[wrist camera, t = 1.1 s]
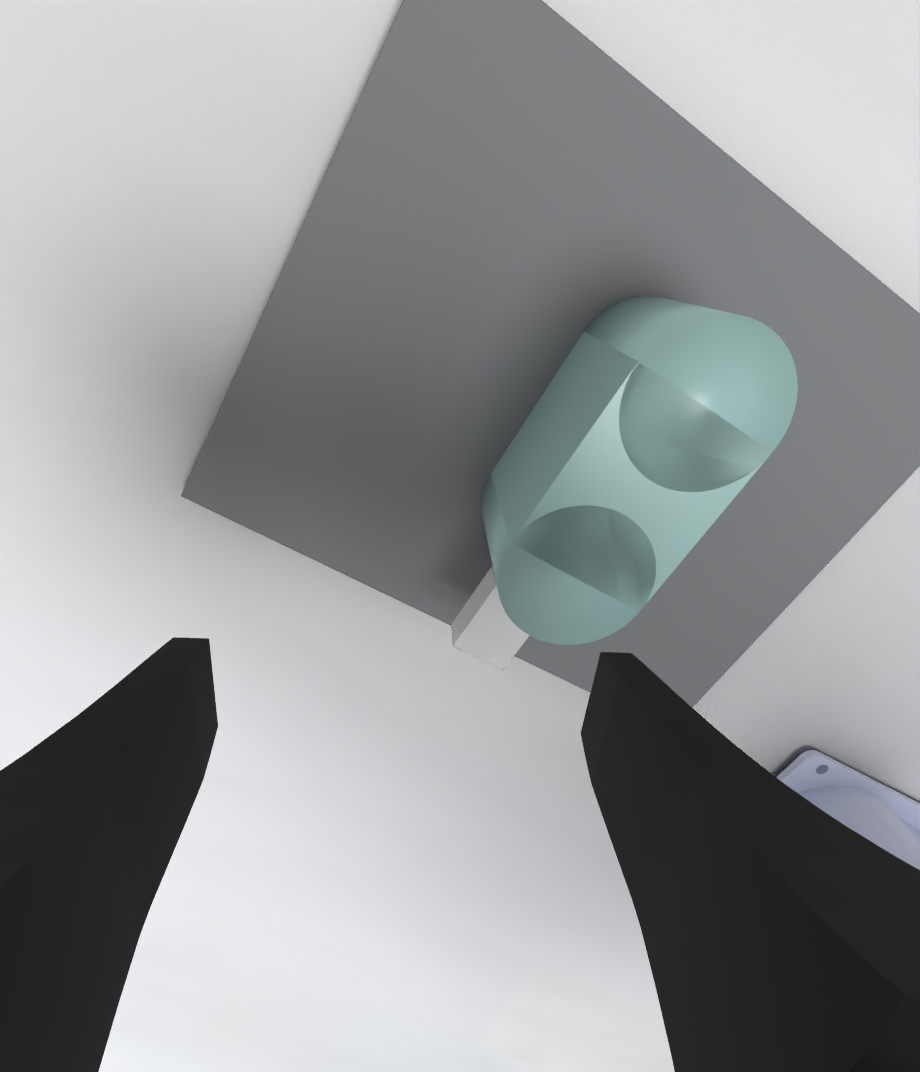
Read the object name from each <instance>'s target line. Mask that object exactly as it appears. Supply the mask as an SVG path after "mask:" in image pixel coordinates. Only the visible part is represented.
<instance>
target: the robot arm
mask: <svg viewBox="0 0 920 1072" xmlns="http://www.w3.org/2000/svg"><path fill="white" fill-rule="evenodd" d="M217 728H218V722H217V713H216V703H215V693H214V683H213V674H212V664H211V654H210V644H209V639H202V638H172V639H171V640H170V641H168V642H167V643H166V644H165V645H163V646H162V647H161V648H160V649H159V650H157V651H156V652H155V653H154V654H153V655H151V656H150V657H149V658H148V659H146V660H145V661H144V662H143V663H142V664H140V665H139V666H138V667H137V668H136V669H134V670H133V671H132V672H131V673H130V674H128V675H127V676H126V677H125V678H124V679H122V680H121V681H120V682H119V683H118V684H116V685H115V686H114V687H113V688H111V689H110V690H109V691H108V692H106V693H105V694H104V695H103V696H101V697H100V698H99V699H98V700H96V701H95V702H94V703H93V704H91V705H90V706H89V707H88V708H86V709H85V710H84V711H83V712H81V713H80V714H79V715H78V716H76V717H75V718H74V719H72V720H71V721H69V722H68V723H67V724H65V725H64V726H63V727H61V728H60V729H59V730H57V731H56V732H55V733H53V734H52V735H50V736H49V737H48V738H46V739H45V740H44V741H42V742H41V743H40V744H38V745H37V746H35V747H34V748H33V749H31V750H30V751H29V752H27V753H26V754H24V755H23V756H22V757H20V758H19V759H17V760H16V761H14V762H13V763H11V764H10V765H8V766H7V767H5V768H4V769H2V770H1V771H0V1072H98V1071H99V1067H100V1064H101V1061H102V1057H103V1054H104V1051H105V1047H106V1044H107V1040H108V1037H109V1034H110V1030H111V1027H112V1024H113V1020H114V1017H115V1013H116V1010H117V1007H118V1003H119V1000H120V997H121V994H122V990H123V987H124V984H125V981H126V978H127V974H128V971H129V968H130V965H131V962H132V959H133V955H134V952H135V949H136V946H137V943H138V939H139V936H140V933H141V931H142V928H143V925H144V923H145V920H146V917H147V915H148V912H149V909H150V907H151V904H152V902H153V899H154V897H155V894H156V892H157V890H158V887H159V885H160V883H161V880H162V878H163V875H164V873H165V871H166V868H167V866H168V863H169V861H170V859H171V856H172V854H173V851H174V849H175V847H176V844H177V842H178V840H179V837H180V835H181V832H182V830H183V828H184V825H185V823H186V820H187V818H188V816H189V813H190V811H191V808H192V806H193V803H194V801H195V798H196V796H197V794H198V791H199V789H200V786H201V784H202V781H203V778H204V775H205V771H206V768H207V764H208V761H209V758H210V754H211V750H212V746H213V743H214V739H215V735H216V731H217ZM581 737H582V742H583V747H584V752H585V757H586V761H587V766H588V770H589V775H590V779H591V783H592V786H593V789H594V792H595V795H596V798H597V801H598V804H599V807H600V810H601V813H602V816H603V818H604V821H605V824H606V827H607V830H608V833H609V835H610V838H611V841H612V844H613V847H614V850H615V852H616V855H617V858H618V861H619V864H620V866H621V869H622V872H623V875H624V878H625V881H626V883H627V886H628V889H629V892H630V895H631V897H632V900H633V904H634V907H635V910H636V913H637V917H638V920H639V923H640V926H641V930H642V934H643V938H644V942H645V946H646V950H647V954H648V958H649V962H650V966H651V970H652V974H653V978H654V982H655V986H656V990H657V994H658V998H659V1003H660V1007H661V1011H662V1016H663V1020H664V1024H665V1029H666V1033H667V1038H668V1042H669V1046H670V1051H671V1055H672V1060H673V1065H674V1069H675V1072H920V803H918V802H916V801H914V800H912V799H910V798H908V797H906V796H905V795H903V794H901V793H899V792H897V791H895V790H893V789H891V788H889V787H887V786H885V785H883V784H881V783H879V782H877V781H875V780H873V779H871V778H869V777H867V776H865V775H863V774H861V773H859V772H857V771H856V770H854V769H852V768H850V767H848V766H846V765H844V764H842V763H840V762H838V761H836V760H834V759H832V758H830V757H828V756H826V755H824V754H822V753H820V752H818V751H815V750H808V751H805V752H803V753H802V754H801V755H799V756H798V757H797V758H796V759H795V760H794V761H793V762H792V763H791V764H790V765H789V766H788V767H787V768H786V769H784V770H783V771H782V772H781V773H780V774H779V775H778V776H777V777H775V776H773V775H772V774H771V773H769V772H768V771H767V770H766V769H764V768H763V767H762V766H760V765H759V764H758V763H757V762H755V761H754V760H753V759H752V758H751V757H749V756H748V755H747V754H746V753H744V752H743V751H742V750H741V749H739V748H738V747H737V746H736V745H734V744H733V743H732V742H731V741H730V740H728V739H727V738H726V737H725V736H724V735H722V734H721V733H720V732H719V731H718V730H717V729H715V728H714V727H713V726H712V725H711V724H710V723H709V722H707V721H706V720H705V719H704V718H703V717H702V716H701V715H700V714H698V713H697V712H696V711H695V710H694V709H693V708H692V707H691V706H690V705H688V704H687V703H686V702H685V701H684V700H683V699H682V698H681V697H680V696H679V695H677V694H676V693H675V692H674V691H673V690H672V689H671V688H670V687H669V686H668V685H667V684H666V683H664V682H663V681H662V680H661V679H660V678H659V677H658V676H657V675H656V674H655V673H654V672H653V671H651V670H650V669H649V668H648V667H647V666H646V665H645V664H644V663H643V662H641V661H640V660H639V659H638V658H637V657H636V656H634V655H633V654H632V653H617V652H600V656H599V660H598V664H597V668H596V672H595V677H594V681H593V685H592V689H591V693H590V697H589V701H588V705H587V709H586V714H585V718H584V722H583V726H582V730H581Z"/></svg>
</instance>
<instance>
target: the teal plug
mask: <svg viewBox="0 0 920 1072" xmlns="http://www.w3.org/2000/svg"><path fill="white" fill-rule="evenodd" d="M797 391H798V381H797V372H796V368H795V363H794V361H793V358H792V355H791V353H790V351H789V349H788V348H787V346H786V344H785V343H784V342H783V340H782V339H781V338H780V337H779V335H778V334H776V333H775V332H774V331H773V330H772V329H771V328H769V327H768V326H766V325H765V324H763V323H761V322H760V321H757V320H755V319H752V318H750V317H746V316H742V315H738V314H733V313H729V312H725V311H720V310H716V309H711V308H707V307H702V306H698V305H694V304H689V303H685V302H680V301H676V300H672V299H667V298H663V297H658V296H649V295H646V296H636V297H630V298H627V299H624V300H621V301H619V302H617V303H615V304H613V305H611V306H610V307H608V308H606V309H605V310H603V311H602V312H601V313H600V314H599V315H597V316H596V317H595V318H594V319H593V321H592V322H591V323H590V324H589V325H588V326H587V328H586V329H585V330H584V332H583V333H582V335H581V336H580V338H579V339H578V341H577V343H576V344H575V346H574V347H573V349H572V350H571V352H570V353H569V355H568V356H567V358H566V359H565V361H564V362H563V364H562V365H561V367H560V369H559V370H558V372H557V373H556V375H555V376H554V378H553V379H552V381H551V382H550V384H549V385H548V387H547V388H546V390H545V391H544V393H543V395H542V396H541V398H540V399H539V401H538V402H537V404H536V405H535V407H534V408H533V410H532V411H531V413H530V414H529V416H528V417H527V419H526V421H525V422H524V424H523V425H522V427H521V428H520V430H519V431H518V433H517V434H516V436H515V437H514V439H513V440H512V442H511V443H510V445H509V446H508V448H507V450H506V451H505V453H504V454H503V456H502V457H501V459H500V460H499V462H498V463H497V465H496V466H495V468H494V469H493V471H492V472H491V474H490V476H489V478H488V479H487V481H486V484H485V486H484V489H483V493H482V499H481V512H482V517H483V522H484V527H485V532H486V536H487V541H488V546H489V551H490V555H491V560H492V565H493V566H492V567H491V568H490V569H489V571H488V572H487V574H486V575H485V577H484V578H483V580H482V581H481V582H480V584H479V585H478V587H477V588H476V590H475V591H474V592H473V594H472V595H471V597H470V598H469V600H468V601H467V602H466V604H465V605H464V607H463V608H462V610H461V611H460V612H459V614H458V615H457V617H456V618H455V620H454V621H453V622H452V624H451V626H452V640H453V647H455V648H457V649H459V650H462V651H464V652H466V653H468V654H470V655H472V656H474V657H476V658H479V659H481V660H483V661H485V662H487V663H489V664H491V665H493V666H496V667H498V668H500V669H502V670H504V668H505V667H506V666H507V664H508V663H509V662H510V660H511V659H512V658H513V657H514V655H515V654H516V653H517V651H518V650H519V649H520V647H521V646H522V645H523V643H524V642H525V641H526V640H527V638H528V637H529V636H532V637H534V638H536V639H538V640H541V641H544V642H548V643H553V644H559V645H577V644H584V643H589V642H593V641H596V640H599V639H602V638H604V637H607V636H609V635H611V634H613V633H614V632H616V631H618V630H619V629H621V628H622V627H624V626H625V625H626V624H628V623H629V622H630V621H631V620H632V619H633V618H634V617H635V616H636V615H637V614H638V613H639V612H640V610H641V609H642V608H643V607H644V606H645V604H646V603H647V602H648V601H649V600H650V599H651V597H652V596H653V595H654V594H655V593H656V591H657V590H658V589H659V588H660V587H661V585H662V584H663V583H664V582H665V581H666V579H667V578H668V577H669V576H670V575H671V573H672V572H673V571H674V570H675V569H676V567H677V566H678V565H679V564H680V563H681V561H682V560H683V559H684V558H685V557H686V555H687V554H688V553H689V552H690V551H691V549H692V548H693V547H694V546H695V545H696V543H697V542H698V541H699V540H700V539H701V537H702V536H703V535H704V534H705V533H706V531H707V530H708V529H709V528H710V527H711V525H712V524H713V523H714V522H715V521H716V519H717V518H718V517H719V516H720V515H721V513H722V512H723V511H724V510H725V509H726V507H727V506H728V505H729V504H730V503H731V501H732V500H733V499H734V498H735V497H736V495H737V494H738V493H739V492H740V491H741V489H742V488H743V487H744V486H745V485H746V483H747V482H748V481H749V480H750V479H751V477H752V476H753V475H754V474H755V473H756V471H757V470H758V469H759V468H760V467H761V465H762V464H763V463H764V462H765V461H766V459H767V458H768V457H769V456H770V455H771V453H772V452H773V451H774V450H775V448H776V447H777V446H778V444H779V443H780V441H781V440H782V438H783V436H784V435H785V433H786V431H787V429H788V427H789V424H790V422H791V420H792V417H793V414H794V410H795V406H796V401H797Z"/></svg>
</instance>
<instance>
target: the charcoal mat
mask: <svg viewBox="0 0 920 1072" xmlns="http://www.w3.org/2000/svg"><path fill="white" fill-rule="evenodd" d="M646 295H649V296H658V297H663V298H667V299H672V300H676V301H680V302H685V303H689V304H694V305H698V306H702V307H707V308H711V309H716V310H720V311H725V312H729V313H733V314H738V315H742V316H746V317H750V318H752V319H755V320H757V321H760V322H761V323H763V324H765V325H766V326H768V327H769V328H771V329H772V330H773V331H774V332H775V333H776V334H778V335H779V337H780V338H781V339H782V340H783V342H784V343H785V344H786V346H787V348H788V349H789V351H790V353H791V355H792V358H793V361H794V363H795V368H796V372H797V381H798V391H797V401H796V406H795V410H794V414H793V417H792V420H791V422H790V424H789V427H788V429H787V431H786V433H785V435H784V436H783V438H782V440H781V441H780V443H779V444H778V446H777V447H776V448H775V450H774V451H773V452H772V453H771V455H770V456H769V457H768V458H767V459H766V461H765V462H764V463H763V464H762V465H761V467H760V468H759V469H758V470H757V471H756V473H755V474H754V475H753V476H752V477H751V479H750V480H749V481H748V482H747V483H746V485H745V486H744V487H743V488H742V489H741V491H740V492H739V493H738V494H737V495H736V497H735V498H734V499H733V500H732V501H731V503H730V504H729V505H728V506H727V507H726V509H725V510H724V511H723V512H722V513H721V515H720V516H719V517H718V518H717V519H716V521H715V522H714V523H713V524H712V525H711V527H710V528H709V529H708V530H707V531H706V533H705V534H704V535H703V536H702V537H701V539H700V540H699V541H698V542H697V543H696V545H695V546H694V547H693V548H692V549H691V551H690V552H689V553H688V554H687V555H686V557H685V558H684V559H683V560H682V561H681V563H680V564H679V565H678V566H677V567H676V569H675V570H674V571H673V572H672V573H671V575H670V576H669V577H668V578H667V579H666V581H665V582H664V583H663V584H662V585H661V587H660V588H659V589H658V590H657V591H656V593H655V594H654V595H653V596H652V597H651V599H650V600H649V601H648V602H647V603H646V604H645V606H644V607H643V608H642V609H641V610H640V612H639V613H638V614H637V615H636V616H635V617H634V618H633V619H632V620H631V621H630V622H629V623H628V624H626V625H625V626H624V627H622V628H621V629H619V630H618V631H616V632H614V633H613V634H611V635H609V636H607V637H604V638H602V639H599V640H596V641H593V642H589V643H584V644H577V645H559V644H553V643H548V642H544V641H541V640H538V639H536V638H534V637H532V636H529V637H528V638H527V640H526V641H525V642H524V643H523V645H522V646H521V647H520V649H519V650H518V651H517V653H516V654H515V655H514V656H516V657H518V658H520V659H522V660H524V661H526V662H528V663H530V664H532V665H535V666H537V667H539V668H541V669H543V670H545V671H547V672H549V673H551V674H553V675H555V676H557V677H560V678H562V679H564V680H566V681H568V682H570V683H572V684H574V685H576V686H578V687H580V688H582V689H585V690H587V691H589V692H591V689H592V685H593V681H594V677H595V672H596V668H597V664H598V660H599V656H600V652H617V653H632V654H633V655H634V656H636V657H637V658H638V659H639V660H640V661H641V662H643V663H644V664H645V665H646V666H647V667H648V668H649V669H650V670H651V671H653V672H654V673H655V674H656V675H657V676H658V677H659V678H660V679H661V680H662V681H663V682H664V683H666V684H667V685H668V686H669V687H670V688H671V689H672V690H673V691H674V692H675V693H676V694H677V695H679V696H680V697H681V698H682V699H683V700H684V701H685V702H686V703H687V704H688V705H690V706H691V707H693V706H694V705H695V704H696V703H697V702H698V701H699V700H700V699H701V698H702V697H703V696H704V694H705V693H706V692H707V691H708V690H709V689H710V688H711V687H712V686H713V685H714V684H715V683H716V682H717V681H718V680H719V679H720V677H721V676H722V675H723V674H724V673H725V672H726V671H727V670H728V669H729V668H730V667H731V666H732V665H733V664H734V663H735V662H736V660H737V659H738V658H739V657H740V656H741V655H742V654H743V653H744V652H745V651H746V650H747V649H748V648H749V647H750V646H751V645H752V644H753V642H754V641H755V640H756V639H757V638H758V637H759V636H760V635H761V634H762V633H763V632H764V631H765V630H766V629H767V628H768V627H769V625H770V624H771V623H772V622H773V621H774V620H775V619H776V618H777V617H778V616H779V615H780V614H781V613H782V612H783V611H784V610H785V608H786V607H787V606H788V605H789V604H790V603H791V602H792V601H793V600H794V599H795V598H796V597H797V596H798V595H799V594H800V593H801V591H802V590H803V589H804V588H805V587H806V586H807V585H808V584H809V583H810V582H811V581H812V580H813V579H814V578H815V577H816V576H817V574H818V573H819V572H820V571H821V570H822V569H823V568H824V567H825V566H826V565H827V564H828V563H829V562H830V561H831V560H832V559H833V557H834V556H835V555H836V554H837V553H838V552H839V551H840V550H841V549H842V548H843V547H844V546H845V545H846V544H847V543H848V542H849V541H850V539H851V538H852V537H853V536H854V535H855V534H856V533H857V532H858V531H859V530H860V529H861V528H862V527H863V526H864V525H865V524H866V522H867V521H868V520H869V519H870V518H871V517H872V516H873V515H874V514H875V513H876V512H877V511H878V510H879V509H880V508H881V507H882V505H883V504H884V503H885V502H886V501H887V500H888V499H889V498H890V497H891V496H892V495H893V494H894V493H895V492H896V491H897V490H898V488H899V487H900V486H901V485H902V484H903V483H904V482H905V481H906V480H907V479H908V478H909V477H910V476H911V475H912V474H913V473H914V471H915V470H916V469H917V468H918V467H919V466H920V313H918V312H917V311H916V310H915V309H914V308H912V307H911V306H910V305H909V304H908V303H906V302H905V301H904V300H903V299H902V298H900V297H899V296H898V295H897V294H896V293H894V292H893V291H892V290H891V289H889V288H888V287H887V286H886V285H885V284H883V283H882V282H881V281H880V280H879V279H877V278H876V277H875V276H874V275H873V274H871V273H870V272H869V271H868V270H867V269H865V268H864V267H863V266H862V265H861V264H859V263H858V262H857V261H856V260H854V259H853V258H852V257H851V256H850V255H848V254H847V253H846V252H845V251H844V250H842V249H841V248H840V247H839V246H838V245H836V244H835V243H834V242H833V241H832V240H830V239H829V238H828V237H827V236H826V235H824V234H823V233H822V232H821V231H819V230H818V229H817V228H816V227H815V226H813V225H812V224H811V223H810V222H809V221H807V220H806V219H805V218H804V217H803V216H801V215H800V214H799V213H798V212H797V211H795V210H794V209H793V208H792V207H791V206H789V205H788V204H787V203H786V202H784V201H783V200H782V199H781V198H780V197H778V196H777V195H776V194H775V193H774V192H772V191H771V190H770V189H769V188H768V187H766V186H765V185H764V184H763V183H762V182H760V181H759V180H758V179H757V178H756V177H754V176H753V175H752V174H751V173H750V172H748V171H747V170H746V169H745V168H743V167H742V166H741V165H740V164H739V163H737V162H736V161H735V160H734V159H733V158H731V157H730V156H729V155H728V154H727V153H725V152H724V151H723V150H722V149H721V148H719V147H718V146H717V145H716V144H715V143H713V142H712V141H711V140H710V139H708V138H707V137H706V136H705V135H704V134H702V133H701V132H700V131H699V130H698V129H696V128H695V127H694V126H693V125H692V124H690V123H689V122H688V121H687V120H686V119H684V118H683V117H682V116H681V115H680V114H678V113H677V112H676V111H675V110H673V109H672V108H671V107H670V106H669V105H667V104H666V103H665V102H664V101H663V100H661V99H660V98H659V97H658V96H657V95H655V94H654V93H653V92H652V91H651V90H649V89H648V88H647V87H646V86H645V85H643V84H642V83H641V82H640V81H638V80H637V79H636V78H635V77H634V76H632V75H631V74H630V73H629V72H628V71H626V70H625V69H624V68H623V67H622V66H620V65H619V64H618V63H617V62H616V61H614V60H613V59H612V58H611V57H610V56H608V55H607V54H606V53H605V52H603V51H602V50H601V49H600V48H599V47H597V46H596V45H595V44H594V43H593V42H591V41H590V40H589V39H588V38H587V37H585V36H584V35H583V34H582V33H581V32H579V31H578V30H577V29H576V28H575V27H573V26H572V25H571V24H570V23H568V22H567V21H566V20H565V19H564V18H562V17H561V16H560V15H559V14H558V13H556V12H555V11H554V10H553V9H552V8H550V7H549V6H548V5H547V4H546V3H544V2H543V1H542V0H404V1H403V3H402V5H401V7H400V10H399V12H398V14H397V16H396V18H395V21H394V23H393V25H392V27H391V30H390V32H389V34H388V36H387V38H386V41H385V43H384V45H383V47H382V50H381V52H380V54H379V56H378V58H377V61H376V63H375V65H374V67H373V70H372V72H371V74H370V76H369V79H368V81H367V83H366V85H365V87H364V90H363V92H362V94H361V96H360V99H359V101H358V103H357V105H356V107H355V110H354V112H353V114H352V116H351V119H350V121H349V123H348V125H347V127H346V130H345V132H344V134H343V136H342V139H341V141H340V143H339V145H338V147H337V150H336V152H335V154H334V156H333V159H332V161H331V163H330V165H329V167H328V170H327V172H326V174H325V176H324V179H323V181H322V183H321V185H320V187H319V190H318V192H317V194H316V196H315V199H314V201H313V203H312V205H311V207H310V210H309V212H308V214H307V216H306V219H305V221H304V223H303V225H302V228H301V230H300V232H299V234H298V236H297V239H296V241H295V243H294V245H293V248H292V250H291V252H290V254H289V256H288V259H287V261H286V263H285V265H284V268H283V270H282V272H281V274H280V276H279V279H278V281H277V283H276V285H275V288H274V290H273V292H272V294H271V296H270V299H269V301H268V303H267V305H266V308H265V310H264V312H263V314H262V316H261V319H260V321H259V323H258V325H257V328H256V330H255V332H254V334H253V336H252V339H251V341H250V343H249V345H248V348H247V350H246V352H245V354H244V356H243V359H242V361H241V363H240V365H239V368H238V370H237V372H236V374H235V377H234V379H233V381H232V383H231V385H230V388H229V390H228V392H227V394H226V397H225V399H224V401H223V403H222V405H221V408H220V410H219V412H218V414H217V417H216V419H215V421H214V423H213V425H212V428H211V430H210V432H209V434H208V437H207V439H206V441H205V443H204V445H203V448H202V450H201V452H200V454H199V457H198V459H197V461H196V463H195V465H194V468H193V470H192V472H191V474H190V477H189V479H188V481H187V483H186V485H185V488H184V490H183V492H182V494H181V496H182V497H184V498H186V499H189V500H191V501H193V502H195V503H197V504H199V505H201V506H203V507H205V508H207V509H209V510H211V511H214V512H216V513H218V514H220V515H222V516H224V517H226V518H228V519H230V520H232V521H234V522H236V523H239V524H241V525H243V526H245V527H247V528H249V529H251V530H253V531H255V532H257V533H259V534H261V535H264V536H266V537H268V538H270V539H272V540H274V541H276V542H278V543H280V544H282V545H284V546H286V547H289V548H291V549H293V550H295V551H297V552H299V553H301V554H303V555H305V556H307V557H309V558H312V559H314V560H316V561H318V562H320V563H322V564H324V565H326V566H328V567H330V568H332V569H334V570H337V571H339V572H341V573H343V574H345V575H347V576H349V577H351V578H353V579H355V580H357V581H359V582H362V583H364V584H366V585H368V586H370V587H372V588H374V589H376V590H378V591H380V592H382V593H384V594H387V595H389V596H391V597H393V598H395V599H397V600H399V601H401V602H403V603H405V604H407V605H409V606H412V607H414V608H416V609H418V610H420V611H422V612H424V613H426V614H428V615H430V616H432V617H434V618H437V619H439V620H441V621H443V622H445V623H447V624H449V625H451V624H452V622H453V621H454V620H455V618H456V617H457V615H458V614H459V612H460V611H461V610H462V608H463V607H464V605H465V604H466V602H467V601H468V600H469V598H470V597H471V595H472V594H473V592H474V591H475V590H476V588H477V587H478V585H479V584H480V582H481V581H482V580H483V578H484V577H485V575H486V574H487V572H488V571H489V569H490V568H491V567H492V566H493V565H492V560H491V555H490V551H489V546H488V541H487V536H486V532H485V527H484V522H483V517H482V512H481V499H482V493H483V489H484V486H485V484H486V481H487V479H488V478H489V476H490V474H491V472H492V471H493V469H494V468H495V466H496V465H497V463H498V462H499V460H500V459H501V457H502V456H503V454H504V453H505V451H506V450H507V448H508V446H509V445H510V443H511V442H512V440H513V439H514V437H515V436H516V434H517V433H518V431H519V430H520V428H521V427H522V425H523V424H524V422H525V421H526V419H527V417H528V416H529V414H530V413H531V411H532V410H533V408H534V407H535V405H536V404H537V402H538V401H539V399H540V398H541V396H542V395H543V393H544V391H545V390H546V388H547V387H548V385H549V384H550V382H551V381H552V379H553V378H554V376H555V375H556V373H557V372H558V370H559V369H560V367H561V365H562V364H563V362H564V361H565V359H566V358H567V356H568V355H569V353H570V352H571V350H572V349H573V347H574V346H575V344H576V343H577V341H578V339H579V338H580V336H581V335H582V333H583V332H584V330H585V329H586V328H587V326H588V325H589V324H590V323H591V322H592V321H593V319H594V318H595V317H596V316H597V315H599V314H600V313H601V312H602V311H603V310H605V309H606V308H608V307H610V306H611V305H613V304H615V303H617V302H619V301H621V300H624V299H627V298H630V297H636V296H646Z"/></svg>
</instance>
